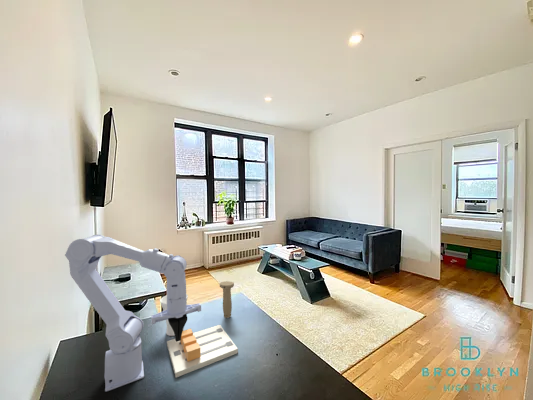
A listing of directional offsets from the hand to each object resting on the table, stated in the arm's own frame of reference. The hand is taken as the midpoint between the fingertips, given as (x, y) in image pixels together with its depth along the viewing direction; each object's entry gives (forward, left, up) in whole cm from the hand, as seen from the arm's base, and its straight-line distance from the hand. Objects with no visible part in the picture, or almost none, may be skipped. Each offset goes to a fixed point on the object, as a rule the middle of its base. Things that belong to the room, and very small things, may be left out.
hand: (178, 339), depth 72 cm
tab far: (+4, +10, -7) cm, 13 cm away
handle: (+24, +21, -9) cm, 33 cm away
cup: (+2, +22, -9) cm, 24 cm away
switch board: (+8, +5, -9) cm, 13 cm away
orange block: (+4, 0, -7) cm, 8 cm away
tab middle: (+4, +5, -7) cm, 10 cm away
